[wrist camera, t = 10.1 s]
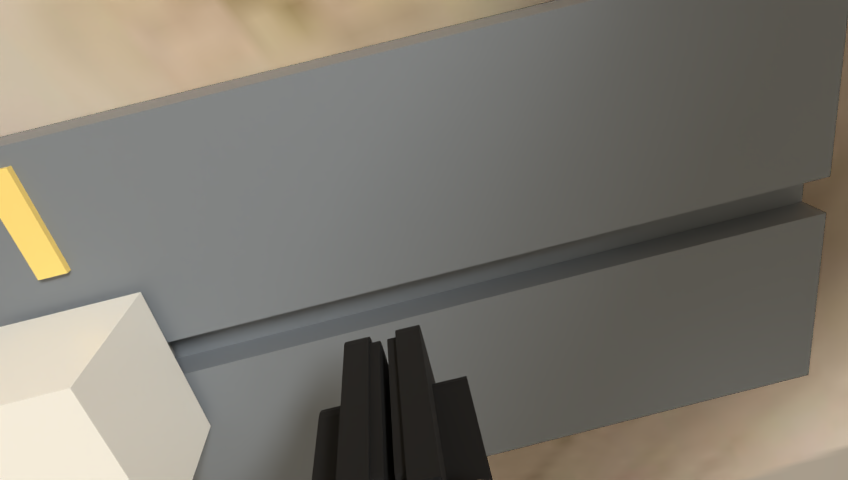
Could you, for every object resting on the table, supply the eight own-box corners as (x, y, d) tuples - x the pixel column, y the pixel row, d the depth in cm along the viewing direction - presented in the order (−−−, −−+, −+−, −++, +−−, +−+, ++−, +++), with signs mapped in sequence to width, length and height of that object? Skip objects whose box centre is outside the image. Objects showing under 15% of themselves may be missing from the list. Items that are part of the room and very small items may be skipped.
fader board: (784, -57, 16) (863, -66, 13) (760, 335, 22) (812, 378, 19) (-99, 161, 15) (-185, 192, 13) (123, 495, 21) (93, 560, 19)
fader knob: (153, 274, 16) (70, 388, 11) (218, 404, 18) (170, 543, 13) (18, 308, 16) (-120, 435, 11) (99, 434, 18) (11, 583, 13)
